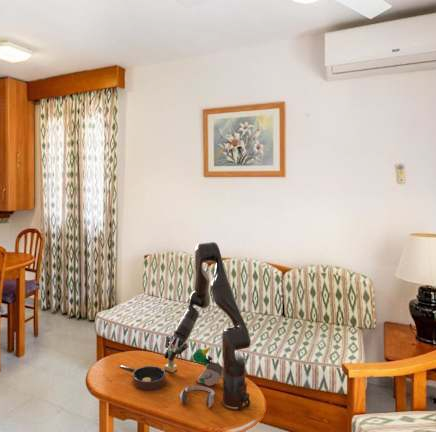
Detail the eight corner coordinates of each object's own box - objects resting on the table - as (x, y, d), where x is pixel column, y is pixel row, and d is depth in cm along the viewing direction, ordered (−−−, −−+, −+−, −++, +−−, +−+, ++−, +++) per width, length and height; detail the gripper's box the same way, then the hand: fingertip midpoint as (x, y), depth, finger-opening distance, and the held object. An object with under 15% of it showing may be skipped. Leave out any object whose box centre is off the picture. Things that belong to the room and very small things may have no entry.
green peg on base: (177, 371, 189) (177, 349, 188) (172, 374, 186) (172, 352, 185) (168, 368, 192) (168, 346, 191) (164, 371, 189) (164, 349, 188)
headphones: (210, 415, 155) (217, 396, 174) (211, 400, 155) (218, 383, 174) (168, 408, 159) (180, 390, 178) (169, 394, 159) (180, 378, 179)
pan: (171, 380, 184) (171, 371, 183) (152, 395, 171) (152, 385, 170) (146, 371, 192) (146, 363, 191) (126, 385, 179) (126, 376, 179)
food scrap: (152, 380, 183) (152, 378, 183) (147, 384, 179) (147, 382, 179) (145, 378, 185) (145, 376, 185) (140, 381, 181) (140, 380, 181)
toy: (235, 376, 174) (202, 344, 178) (212, 402, 177) (179, 369, 181) (237, 371, 180) (205, 340, 184) (214, 395, 183) (183, 364, 187)
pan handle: (138, 373, 186) (138, 369, 185) (135, 374, 184) (135, 371, 184) (121, 367, 191) (121, 364, 191) (118, 368, 190) (118, 365, 190)
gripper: (171, 320, 197) (153, 351, 189) (192, 327, 188) (174, 360, 180) (178, 327, 202) (161, 358, 194) (198, 334, 192) (182, 367, 184)
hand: (168, 359), depth 187 cm, fingers closed on green peg on base, 2 cm apart
